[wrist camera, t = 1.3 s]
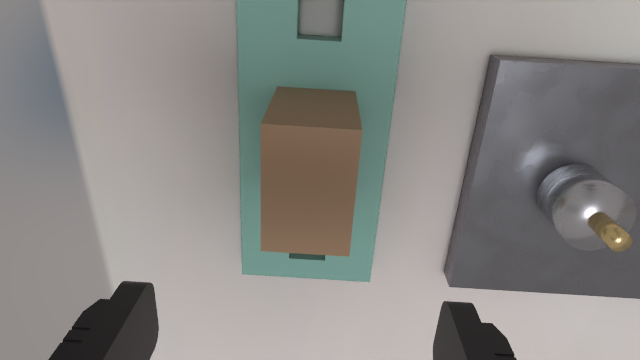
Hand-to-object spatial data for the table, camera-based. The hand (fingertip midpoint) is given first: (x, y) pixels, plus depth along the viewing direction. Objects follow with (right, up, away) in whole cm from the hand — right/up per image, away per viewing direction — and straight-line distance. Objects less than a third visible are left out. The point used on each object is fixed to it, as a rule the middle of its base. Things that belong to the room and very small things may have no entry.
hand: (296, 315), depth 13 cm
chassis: (+21, +3, +14) cm, 26 cm away
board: (0, +6, +13) cm, 15 cm away
